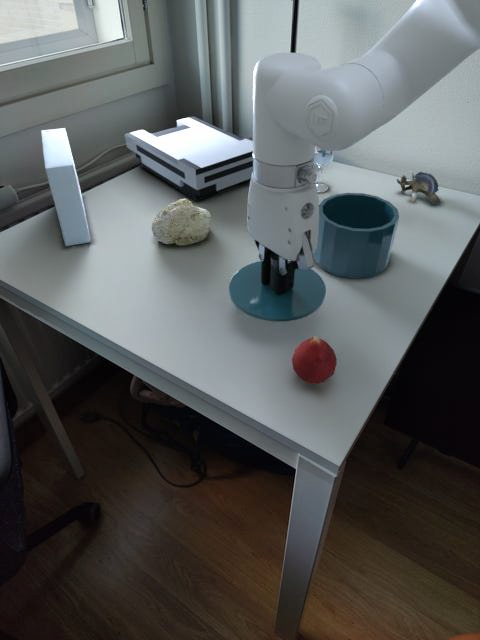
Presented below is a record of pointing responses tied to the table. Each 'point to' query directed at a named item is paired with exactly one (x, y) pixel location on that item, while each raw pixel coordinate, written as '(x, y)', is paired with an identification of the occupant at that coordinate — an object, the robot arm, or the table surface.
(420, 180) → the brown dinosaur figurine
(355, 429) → the table surface
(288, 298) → the lid
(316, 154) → the wineglass
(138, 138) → the game console
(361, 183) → the table surface
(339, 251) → the pot
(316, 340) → the red pomegranate
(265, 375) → the table surface
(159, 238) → the decorative item
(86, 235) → the skincare box
